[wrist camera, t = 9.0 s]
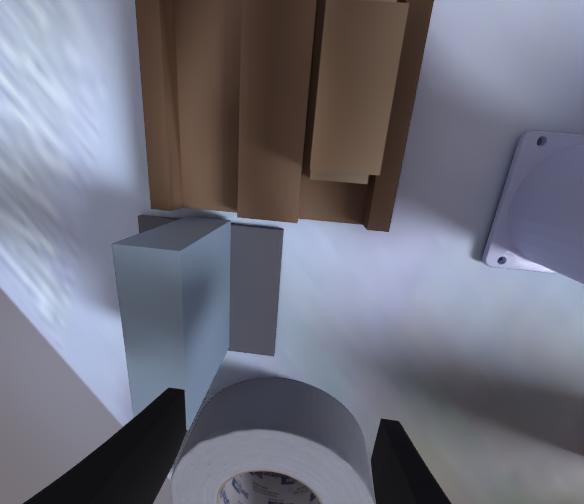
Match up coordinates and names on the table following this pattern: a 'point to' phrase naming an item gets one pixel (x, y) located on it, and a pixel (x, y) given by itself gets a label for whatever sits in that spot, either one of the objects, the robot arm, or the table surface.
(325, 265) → the table surface
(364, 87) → the offcut short
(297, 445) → the tape roll
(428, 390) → the table surface
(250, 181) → the rack
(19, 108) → the table surface
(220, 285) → the blue-grey rectangular block
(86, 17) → the table surface
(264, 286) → the mat
